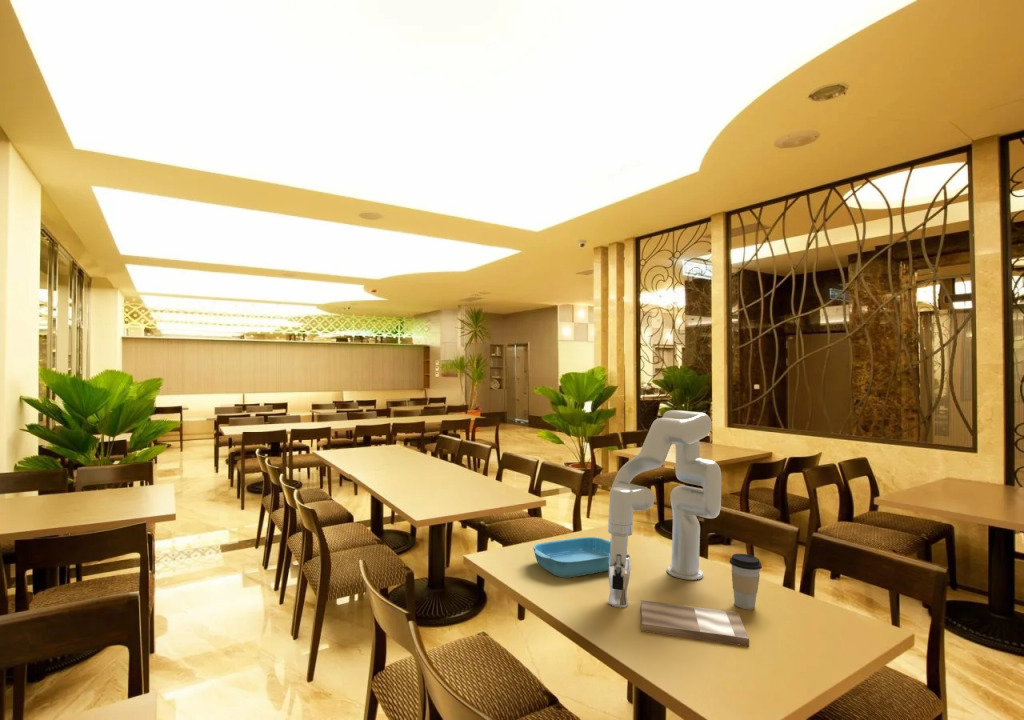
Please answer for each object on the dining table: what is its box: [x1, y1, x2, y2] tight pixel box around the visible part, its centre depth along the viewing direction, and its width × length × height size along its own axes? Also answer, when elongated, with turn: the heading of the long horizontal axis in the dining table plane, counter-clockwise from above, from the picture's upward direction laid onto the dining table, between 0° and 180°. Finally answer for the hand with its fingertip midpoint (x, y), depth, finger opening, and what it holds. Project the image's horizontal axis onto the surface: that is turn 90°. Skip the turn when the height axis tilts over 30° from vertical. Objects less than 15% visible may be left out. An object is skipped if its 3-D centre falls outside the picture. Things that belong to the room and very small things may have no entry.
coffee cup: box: [729, 553, 763, 610], centre depth 167 cm, size 9×9×15 cm
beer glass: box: [607, 553, 632, 609], centre depth 165 cm, size 7×7×15 cm
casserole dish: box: [532, 536, 611, 578], centre depth 196 cm, size 37×22×7 cm, turn 119°
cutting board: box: [640, 599, 750, 647], centre depth 152 cm, size 16×28×2 cm, turn 77°
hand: (618, 583), depth 165 cm, fingers open, 9 cm apart
